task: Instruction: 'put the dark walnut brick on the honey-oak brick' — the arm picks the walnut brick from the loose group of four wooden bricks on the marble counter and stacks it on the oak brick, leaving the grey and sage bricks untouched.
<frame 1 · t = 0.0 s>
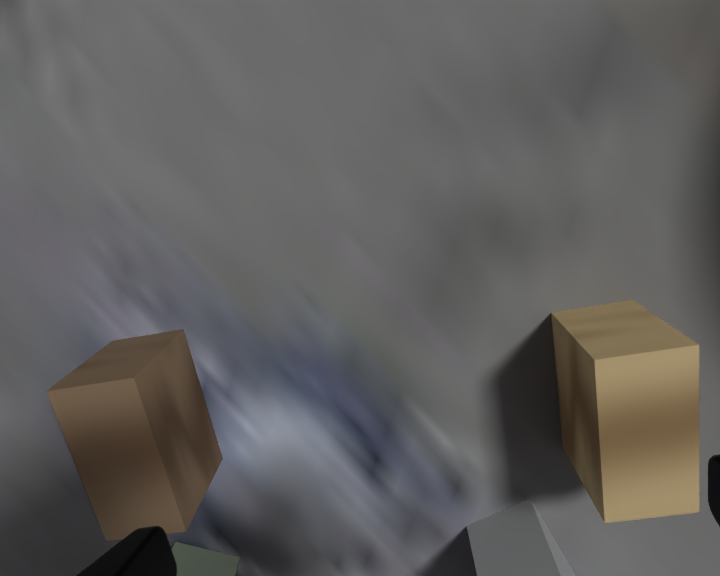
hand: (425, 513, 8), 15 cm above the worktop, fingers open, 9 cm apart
grey brick: (527, 560, 27), on the worktop
walnut brick: (169, 400, 25), on the worktop
oak brick: (595, 376, 24), on the worktop
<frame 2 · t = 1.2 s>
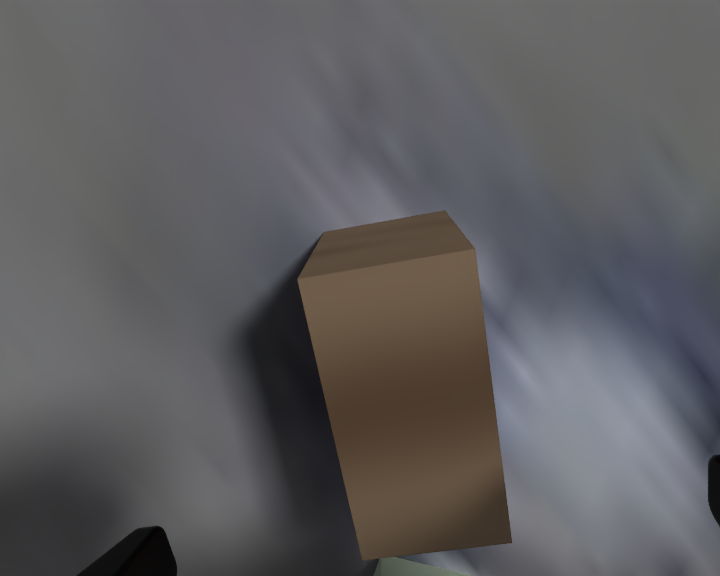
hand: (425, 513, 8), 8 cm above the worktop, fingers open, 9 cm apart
walnut brick: (403, 332, 16), on the worktop
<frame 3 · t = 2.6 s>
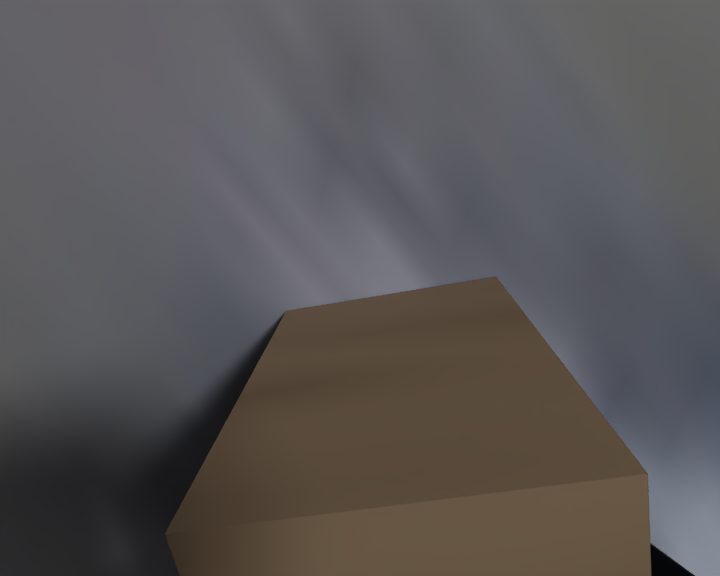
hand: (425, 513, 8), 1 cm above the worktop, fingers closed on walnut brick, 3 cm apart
walnut brick: (421, 473, 9), on the worktop, touching gripper
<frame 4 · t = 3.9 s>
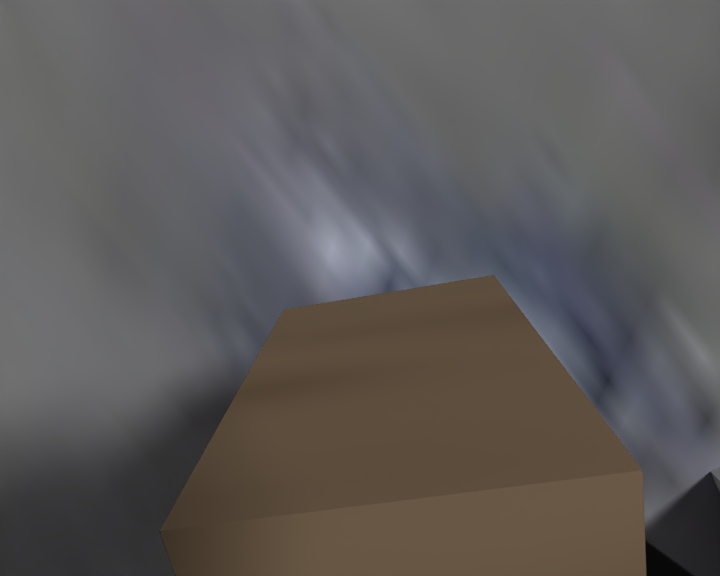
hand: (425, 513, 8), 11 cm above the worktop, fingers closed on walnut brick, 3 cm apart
walnut brick: (419, 472, 9), point 10 cm above the worktop, touching gripper
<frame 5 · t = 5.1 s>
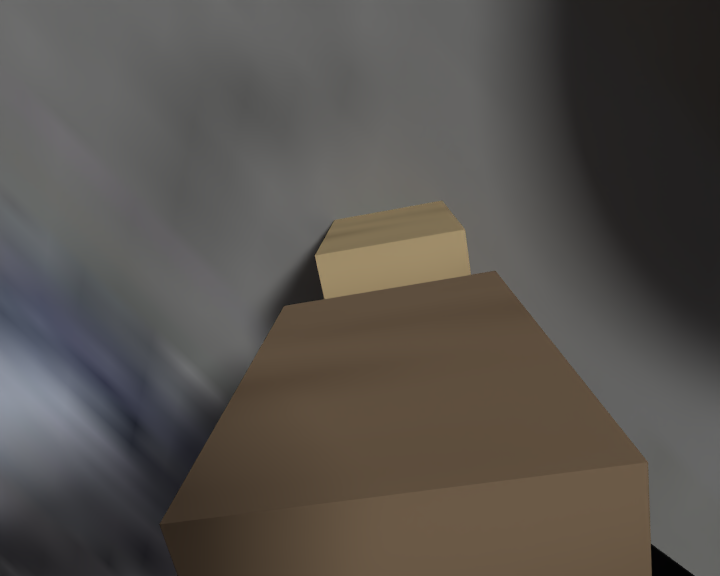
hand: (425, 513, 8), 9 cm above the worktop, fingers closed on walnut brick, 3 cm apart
walnut brick: (420, 469, 9), point 8 cm above the worktop, touching gripper
oak brick: (404, 310, 18), on the worktop
when the fingers open (7 cm above the worktop, at t = 5.7 s): walnut brick drops 1 cm, resting on oak brick.
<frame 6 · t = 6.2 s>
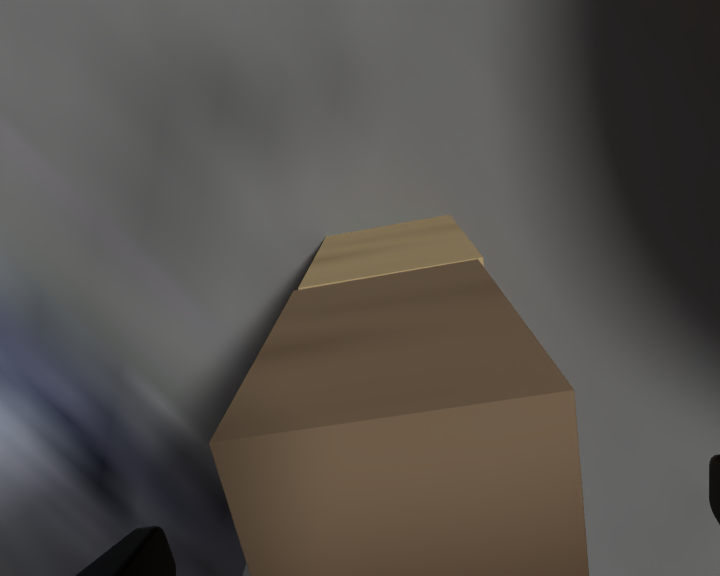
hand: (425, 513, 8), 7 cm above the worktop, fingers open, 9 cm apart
walnut brick: (413, 435, 11), point 5 cm above the worktop, touching oak brick
oak brick: (406, 339, 15), on the worktop, touching walnut brick
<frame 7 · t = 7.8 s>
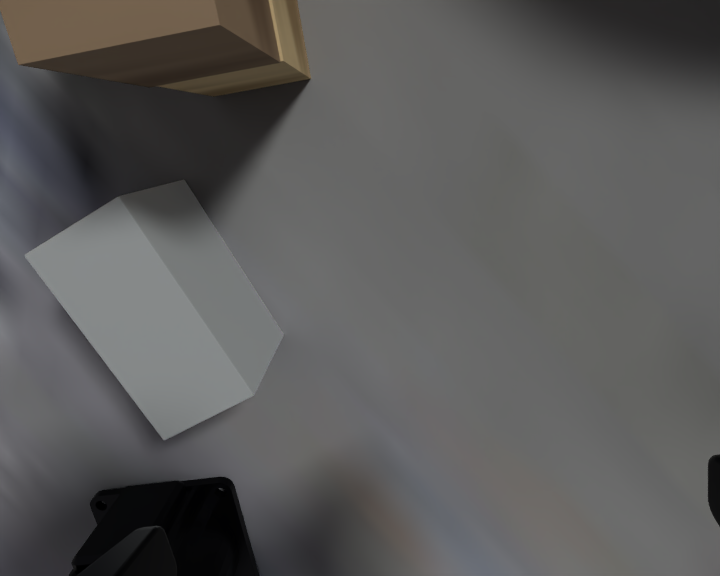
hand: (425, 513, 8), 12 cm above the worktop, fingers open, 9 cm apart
grey brick: (200, 280, 20), on the worktop
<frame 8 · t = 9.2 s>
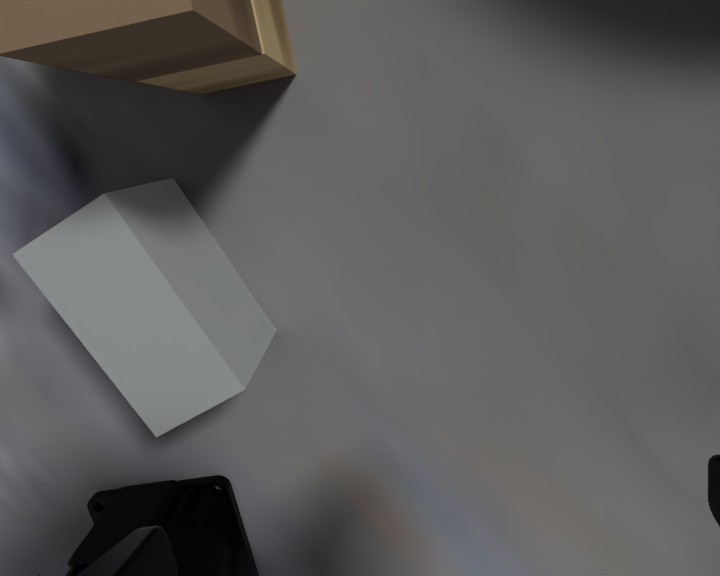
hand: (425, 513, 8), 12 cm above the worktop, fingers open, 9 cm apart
grey brick: (191, 278, 20), on the worktop
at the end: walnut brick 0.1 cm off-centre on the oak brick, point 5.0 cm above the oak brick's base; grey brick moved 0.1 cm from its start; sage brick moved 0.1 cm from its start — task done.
